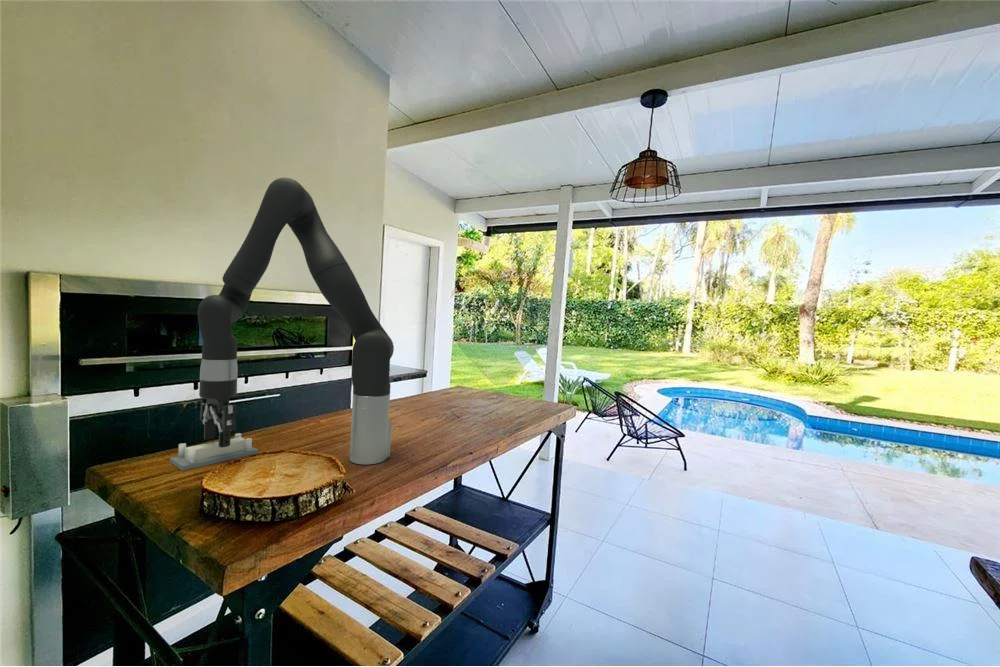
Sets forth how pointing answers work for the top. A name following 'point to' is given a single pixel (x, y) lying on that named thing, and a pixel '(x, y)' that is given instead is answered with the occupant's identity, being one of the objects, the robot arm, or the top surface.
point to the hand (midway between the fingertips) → (216, 442)
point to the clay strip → (216, 448)
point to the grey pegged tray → (194, 463)
